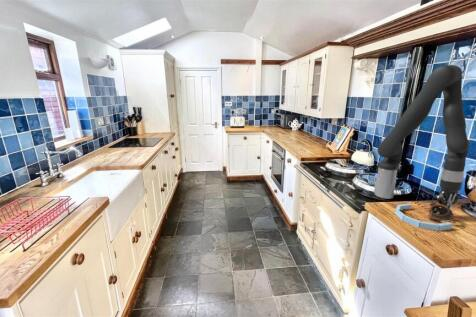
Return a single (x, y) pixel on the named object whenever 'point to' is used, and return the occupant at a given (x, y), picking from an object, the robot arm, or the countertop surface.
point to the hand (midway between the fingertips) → (445, 212)
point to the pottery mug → (440, 212)
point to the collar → (418, 223)
